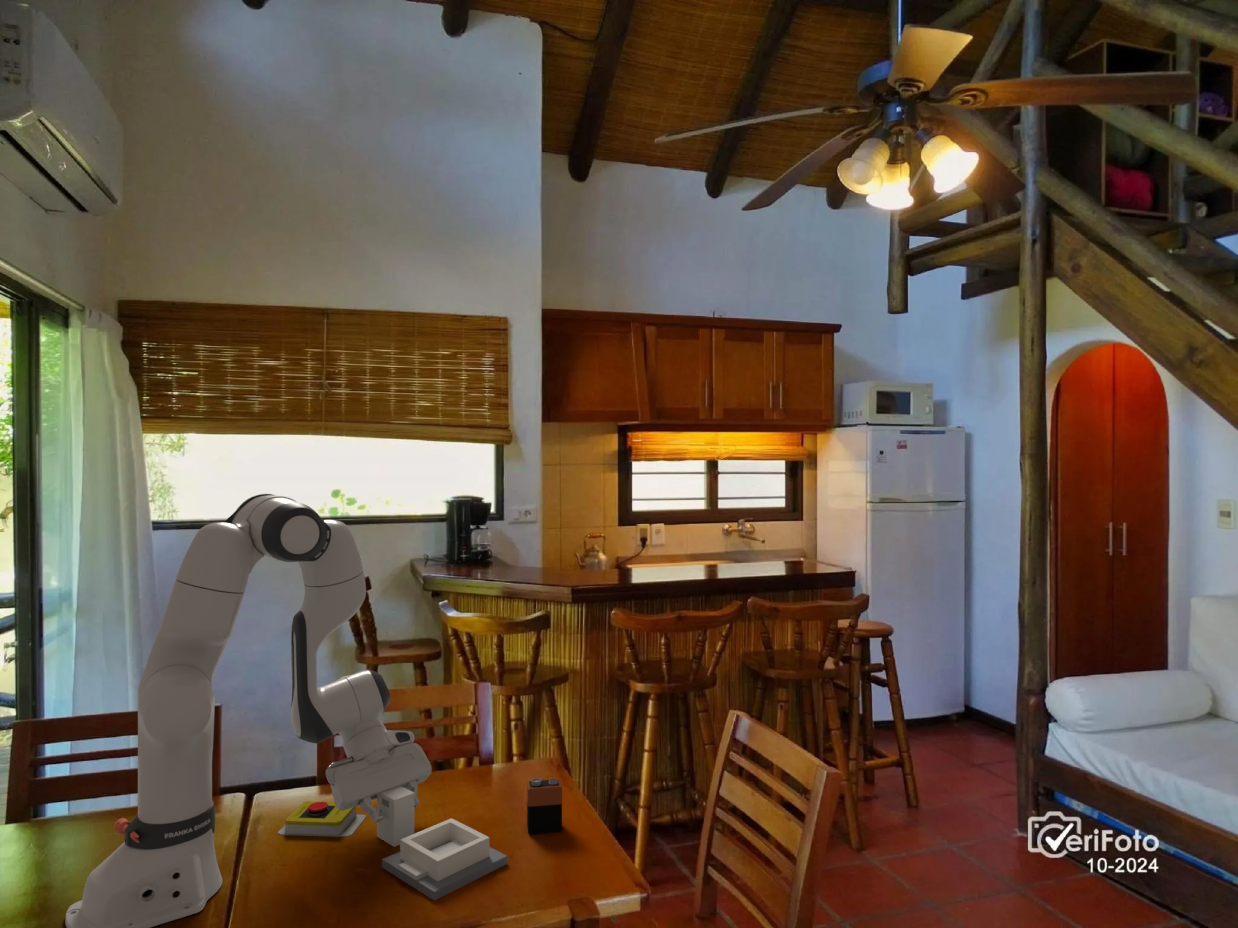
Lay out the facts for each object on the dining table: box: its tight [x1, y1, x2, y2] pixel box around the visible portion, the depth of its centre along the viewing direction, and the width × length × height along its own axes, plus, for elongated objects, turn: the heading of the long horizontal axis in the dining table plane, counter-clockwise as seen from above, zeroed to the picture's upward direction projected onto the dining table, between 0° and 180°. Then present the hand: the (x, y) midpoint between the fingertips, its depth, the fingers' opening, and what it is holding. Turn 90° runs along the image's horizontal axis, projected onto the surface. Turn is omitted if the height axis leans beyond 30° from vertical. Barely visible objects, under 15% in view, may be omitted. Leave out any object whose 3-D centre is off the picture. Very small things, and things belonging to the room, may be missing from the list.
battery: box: [526, 777, 563, 835], centre depth 158 cm, size 4×7×10 cm, turn 101°
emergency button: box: [277, 801, 367, 838], centre depth 159 cm, size 9×4×15 cm
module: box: [376, 786, 415, 847], centre depth 154 cm, size 5×6×9 cm
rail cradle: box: [381, 817, 508, 901], centre depth 143 cm, size 16×16×5 cm
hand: (397, 813), depth 154 cm, fingers open, 7 cm apart
